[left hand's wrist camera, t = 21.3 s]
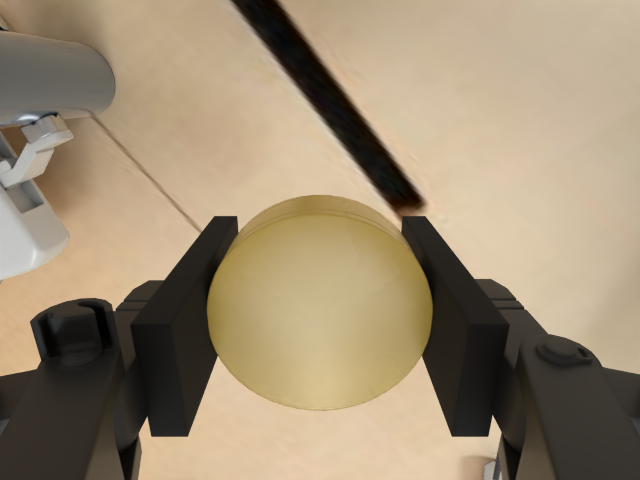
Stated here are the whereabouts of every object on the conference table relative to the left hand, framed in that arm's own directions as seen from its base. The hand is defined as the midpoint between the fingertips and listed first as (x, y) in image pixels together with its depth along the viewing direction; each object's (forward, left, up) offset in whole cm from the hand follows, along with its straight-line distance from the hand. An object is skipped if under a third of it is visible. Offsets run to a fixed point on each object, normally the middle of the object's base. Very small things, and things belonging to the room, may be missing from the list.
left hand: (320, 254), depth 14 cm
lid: (0, 0, +4) cm, 4 cm away
